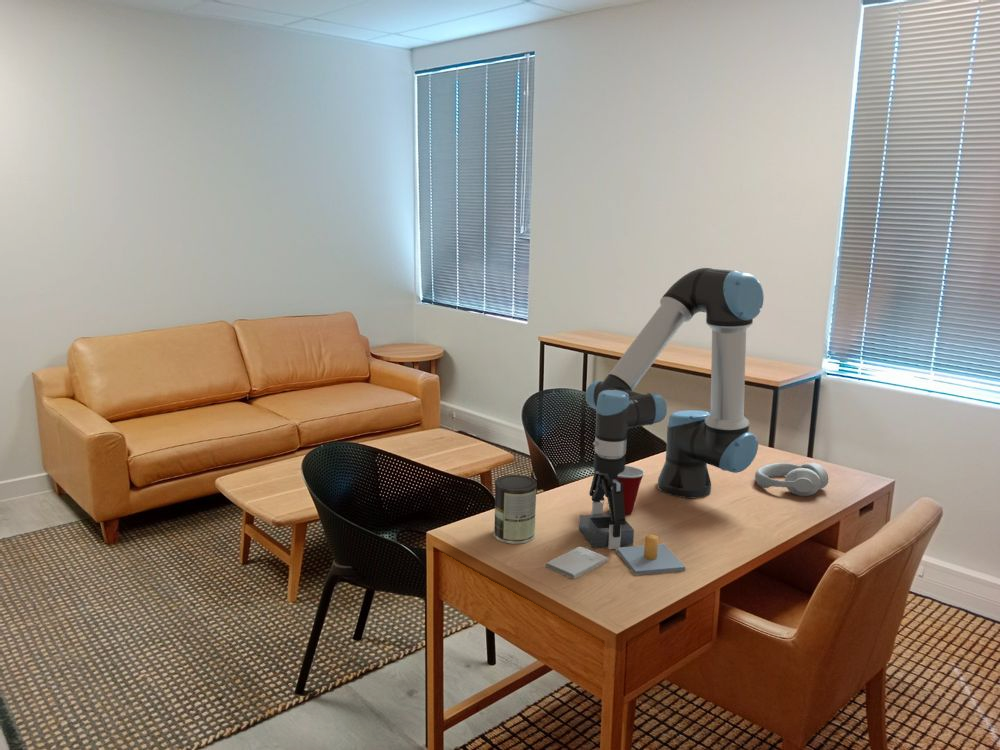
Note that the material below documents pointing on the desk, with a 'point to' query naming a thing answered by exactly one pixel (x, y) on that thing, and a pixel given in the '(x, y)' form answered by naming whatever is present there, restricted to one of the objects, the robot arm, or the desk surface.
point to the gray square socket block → (602, 530)
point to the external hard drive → (576, 562)
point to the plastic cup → (630, 486)
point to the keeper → (650, 558)
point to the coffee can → (515, 508)
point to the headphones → (793, 477)
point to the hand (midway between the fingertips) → (605, 536)
